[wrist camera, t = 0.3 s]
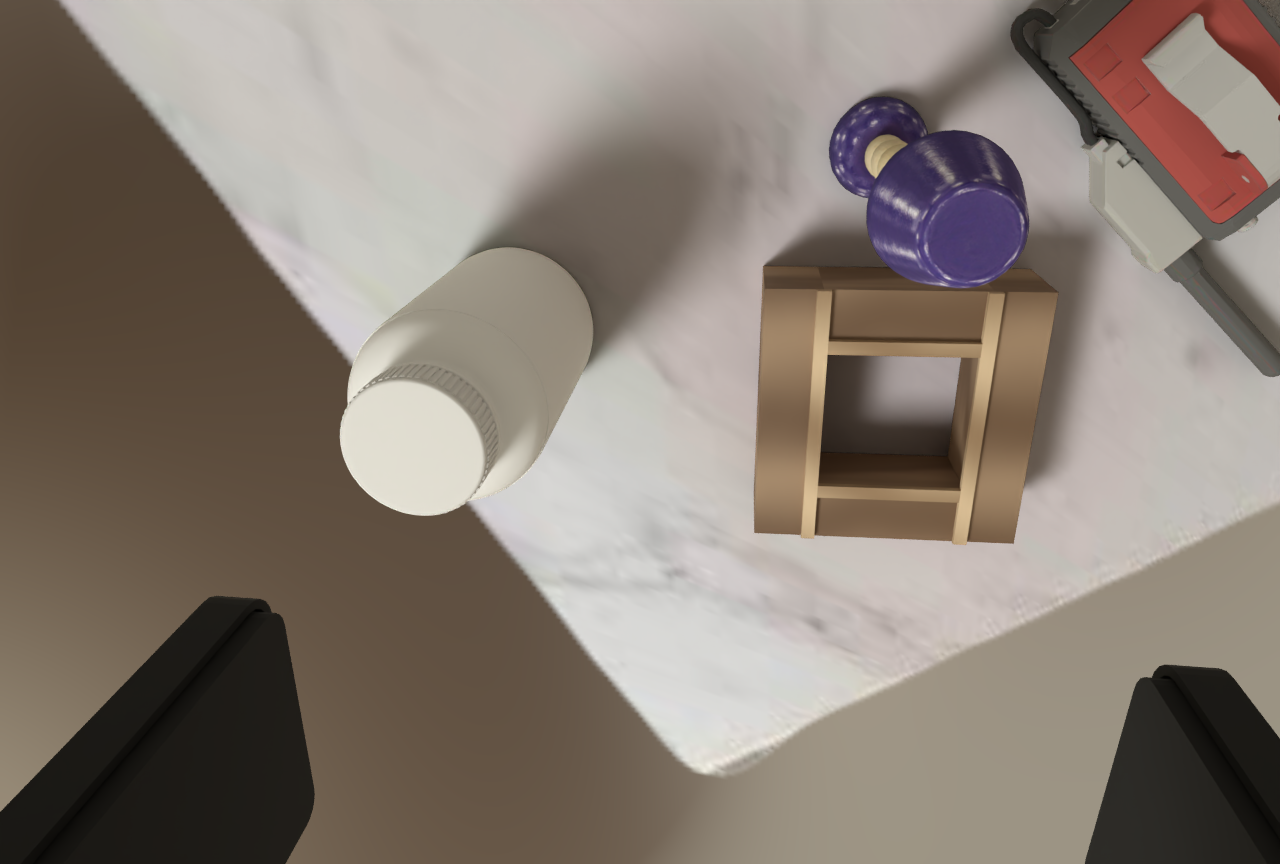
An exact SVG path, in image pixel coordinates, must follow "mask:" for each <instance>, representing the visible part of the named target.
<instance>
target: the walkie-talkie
mask: <svg viewBox="0 0 1280 864" xmlns="http://www.w3.org/2000/svg"><path fill="white" fill-rule="evenodd" d="M1033 19H1036V20H1037V21H1039V22H1041V23H1042V24H1043V26H1042V27H1041V28H1040V29H1039V30H1038V31H1037V32H1036V33H1035V35H1034V47H1033V50H1032V49H1031V47H1030V46H1029V45H1028V44H1027V42H1026V40H1025V38H1024V35H1023V28H1024V26H1025V24H1026V23H1028V22H1030V21H1031V20H1033ZM1275 21H1276V19H1275V17H1274V16H1272V17H1270V15H1269V14H1268V13H1267V7H1266V6H1262V5H1261V4H1260V3H1259V2H1258V0H1069V1H1068V2H1067V3H1066V4H1065V5H1064V6H1063V7H1062V8H1061V9H1060V10H1059V11H1058V12H1057V13H1056V14H1055V15H1054V16H1052V15H1051V14H1050V13H1049V12H1047V11H1044V10H1042V9H1029V10H1027V11H1026V12H1024V13H1023V14H1021V15H1019V16H1018V17H1017V18H1016V19H1015V21H1014V22H1013V24H1012V27H1011V32H1010V35H1011V39H1012V42H1013V44H1014V46H1015V49H1016V50H1017V51H1018V52H1019V54H1020V55H1021V56H1022V57H1023V58H1024V59H1025V60H1026V61H1027V63H1028V64H1029V65H1030V66H1031V67H1032V68H1033V69H1034V70H1035V72H1036V73H1037V74H1038V75H1039V76H1040V77H1041V78H1042V79H1043V81H1044V82H1045V83H1046V84H1047V85H1048V86H1049V87H1050V88H1051V90H1052V91H1053V92H1054V93H1055V94H1056V95H1057V96H1058V97H1059V99H1060V100H1061V101H1062V102H1063V103H1064V104H1065V106H1066V107H1067V108H1068V109H1069V110H1070V112H1071V113H1072V114H1073V115H1074V117H1075V118H1076V119H1077V121H1078V123H1079V125H1080V131H1081V136H1082V138H1083V140H1084V142H1085V144H1084V145H1083V146H1082V147H1081V148H1082V149H1083V150H1084V151H1085V152H1086V154H1087V155H1088V156H1089V199H1090V203H1091V204H1092V205H1093V206H1094V207H1095V208H1096V209H1097V211H1098V212H1099V213H1100V214H1101V215H1102V216H1103V217H1104V218H1105V220H1106V221H1107V222H1108V223H1109V224H1110V225H1111V226H1112V227H1113V228H1114V230H1115V231H1116V232H1117V233H1118V234H1119V235H1120V236H1121V237H1122V239H1123V240H1124V241H1125V242H1126V243H1127V244H1128V245H1129V246H1130V248H1131V253H1132V255H1133V256H1134V257H1135V258H1136V260H1137V261H1138V262H1139V263H1140V264H1141V265H1143V266H1144V267H1146V268H1148V269H1149V270H1151V271H1152V272H1154V273H1159V272H1161V271H1163V270H1165V272H1166V273H1167V274H1168V275H1169V276H1170V277H1171V278H1172V279H1173V281H1175V282H1180V283H1181V284H1182V285H1183V286H1184V287H1185V288H1186V289H1187V290H1188V292H1189V293H1190V294H1191V295H1192V296H1193V297H1194V298H1195V299H1196V300H1197V302H1198V303H1199V304H1200V305H1201V306H1202V307H1203V308H1204V309H1205V310H1206V312H1207V313H1208V314H1209V315H1210V316H1211V317H1212V318H1213V319H1214V321H1215V322H1216V323H1217V324H1218V325H1219V326H1220V327H1221V328H1222V329H1223V331H1224V332H1225V333H1226V334H1227V335H1228V336H1229V337H1230V338H1231V339H1232V341H1233V342H1234V343H1235V344H1236V345H1237V346H1238V347H1239V348H1240V349H1241V351H1242V352H1243V353H1244V354H1245V355H1246V356H1247V357H1248V358H1249V359H1250V360H1251V362H1252V363H1253V364H1254V365H1255V366H1256V367H1257V368H1258V369H1259V370H1260V372H1261V373H1262V374H1263V375H1266V376H1268V377H1275V376H1279V375H1280V354H1279V353H1278V351H1277V350H1276V349H1275V348H1274V347H1273V346H1272V345H1271V344H1270V343H1269V341H1268V340H1267V339H1266V338H1265V337H1264V336H1263V335H1262V334H1261V332H1260V331H1259V330H1258V329H1257V328H1256V327H1255V326H1254V325H1253V324H1252V322H1251V321H1250V320H1249V319H1248V318H1247V317H1246V316H1245V315H1244V313H1243V312H1242V311H1241V310H1240V309H1239V308H1238V307H1237V306H1236V305H1235V303H1234V302H1233V301H1232V300H1231V299H1230V298H1229V297H1228V296H1227V294H1226V293H1225V292H1224V291H1223V290H1222V289H1221V288H1220V287H1219V286H1218V284H1217V283H1216V282H1215V281H1214V280H1213V279H1212V278H1211V277H1210V275H1209V274H1208V273H1207V272H1206V271H1205V270H1204V269H1203V268H1202V260H1201V259H1200V258H1199V256H1198V255H1197V254H1196V253H1195V252H1194V251H1193V250H1192V249H1191V247H1193V246H1194V245H1195V244H1196V243H1198V242H1199V241H1200V240H1201V239H1203V237H1204V238H1206V239H1210V240H1218V241H1220V240H1222V239H1224V238H1225V237H1227V236H1229V235H1231V234H1233V233H1234V232H1236V231H1239V232H1244V231H1247V230H1249V229H1250V228H1252V227H1253V226H1254V225H1255V224H1256V223H1257V222H1258V218H1257V217H1256V216H1257V215H1258V214H1259V213H1261V212H1262V211H1263V210H1264V209H1266V208H1267V207H1268V206H1269V205H1271V204H1272V203H1273V202H1275V201H1276V200H1277V199H1278V198H1280V27H1278V25H1277V24H1276V23H1275ZM1093 125H1096V126H1097V127H1098V130H1097V131H1098V132H1099V133H1100V134H1103V135H1105V137H1106V138H1105V137H1102V136H1101V137H1100V138H1099V137H1096V136H1095V134H1094V131H1093Z"/></svg>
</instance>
